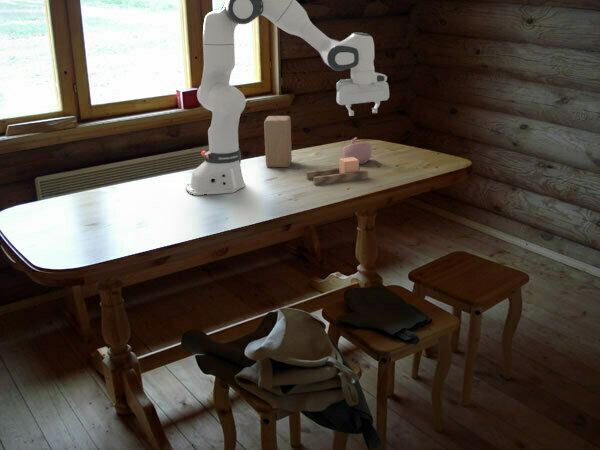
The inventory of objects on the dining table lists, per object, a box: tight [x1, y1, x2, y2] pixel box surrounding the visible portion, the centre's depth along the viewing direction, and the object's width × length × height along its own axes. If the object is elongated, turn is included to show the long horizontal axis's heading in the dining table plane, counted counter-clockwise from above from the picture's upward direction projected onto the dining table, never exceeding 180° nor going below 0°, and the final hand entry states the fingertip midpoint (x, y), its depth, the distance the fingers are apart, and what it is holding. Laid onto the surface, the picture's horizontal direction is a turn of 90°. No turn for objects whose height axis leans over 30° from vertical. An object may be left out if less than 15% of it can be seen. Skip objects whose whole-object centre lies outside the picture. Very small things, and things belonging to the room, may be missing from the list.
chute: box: [305, 165, 369, 186], centre depth 250 cm, size 22×9×4 cm, turn 110°
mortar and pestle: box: [342, 136, 373, 165], centre depth 270 cm, size 12×12×12 cm
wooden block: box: [263, 115, 293, 168], centre depth 271 cm, size 10×10×20 cm
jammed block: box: [338, 157, 360, 174], centre depth 251 cm, size 6×5×7 cm
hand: (363, 114), depth 246 cm, fingers open, 8 cm apart
